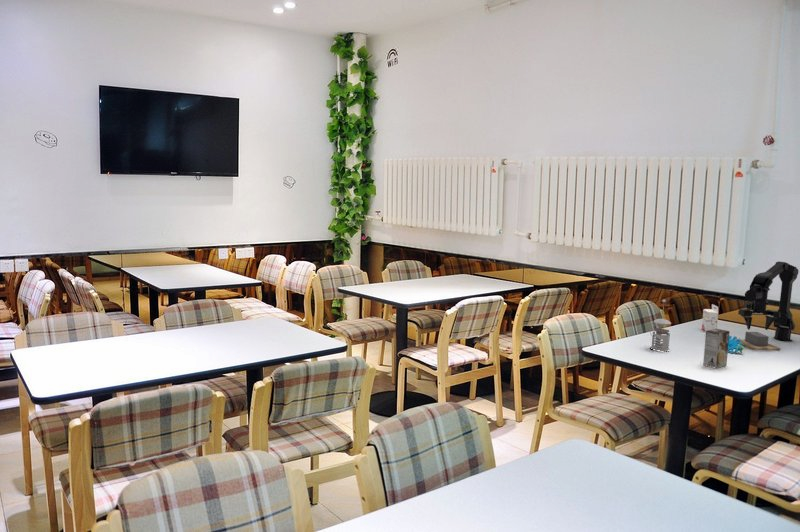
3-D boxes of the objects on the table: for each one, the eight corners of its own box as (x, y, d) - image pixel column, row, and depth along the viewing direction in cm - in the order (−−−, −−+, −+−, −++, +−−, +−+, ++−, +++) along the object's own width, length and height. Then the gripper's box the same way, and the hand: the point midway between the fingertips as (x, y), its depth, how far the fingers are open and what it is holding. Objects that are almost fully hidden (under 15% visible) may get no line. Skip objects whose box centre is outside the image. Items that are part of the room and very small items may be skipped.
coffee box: (713, 362, 301) (716, 328, 299) (726, 365, 296) (730, 331, 293) (702, 365, 295) (705, 330, 293) (716, 368, 290) (719, 333, 288)
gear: (715, 347, 321) (725, 332, 324) (717, 354, 325) (727, 338, 327) (738, 355, 313) (748, 339, 316) (739, 362, 317) (749, 346, 319)
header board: (758, 341, 343) (759, 334, 343) (779, 350, 325) (780, 343, 325) (732, 340, 342) (733, 334, 342) (752, 350, 325) (753, 343, 324)
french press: (659, 352, 314) (663, 301, 311) (642, 346, 325) (646, 297, 322) (675, 351, 318) (679, 300, 315) (657, 345, 329) (661, 296, 325)
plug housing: (756, 341, 339) (757, 331, 338) (767, 346, 329) (768, 336, 328) (744, 341, 339) (745, 331, 338) (756, 346, 329) (757, 336, 328)
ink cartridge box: (700, 329, 367) (703, 303, 365) (709, 329, 367) (712, 303, 365) (707, 332, 359) (710, 306, 357) (716, 333, 359) (719, 306, 357)
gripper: (769, 296, 339) (765, 326, 341) (733, 296, 338) (730, 325, 340) (782, 301, 328) (778, 331, 330) (746, 300, 327) (742, 330, 329)
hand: (757, 329), depth 333 cm, fingers open, 9 cm apart
